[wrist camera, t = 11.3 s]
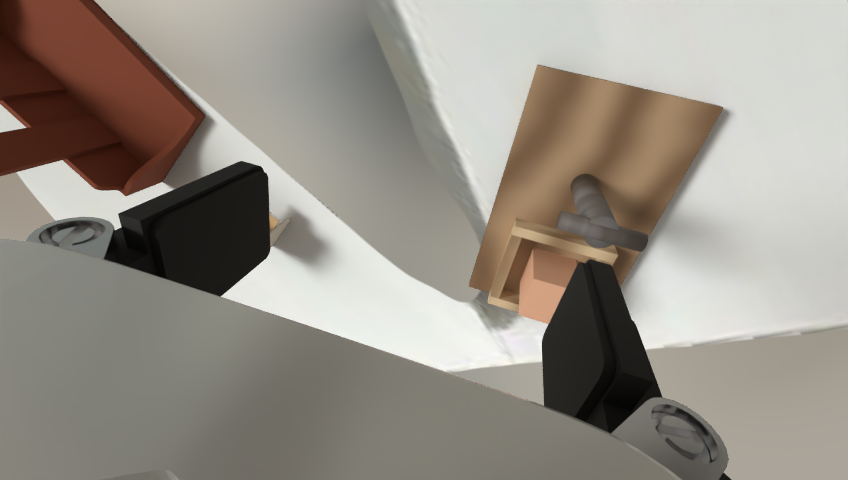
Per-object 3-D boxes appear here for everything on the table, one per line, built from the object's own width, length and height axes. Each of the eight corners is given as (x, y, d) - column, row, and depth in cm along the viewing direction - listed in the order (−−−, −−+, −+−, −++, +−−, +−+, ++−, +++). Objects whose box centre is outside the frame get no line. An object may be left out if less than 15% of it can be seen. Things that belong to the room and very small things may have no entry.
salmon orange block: (575, 259, 39) (582, 292, 34) (560, 292, 41) (564, 328, 36) (533, 247, 40) (533, 278, 34) (519, 280, 42) (518, 314, 37)
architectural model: (254, 227, 50) (214, 255, 44) (275, 192, 46) (235, 217, 40) (275, 244, 50) (238, 273, 44) (297, 210, 47) (261, 237, 41)
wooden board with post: (717, 105, 31) (804, 137, 21) (595, 318, 43) (615, 401, 33) (537, 64, 33) (540, 76, 23) (469, 280, 45) (453, 348, 35)
